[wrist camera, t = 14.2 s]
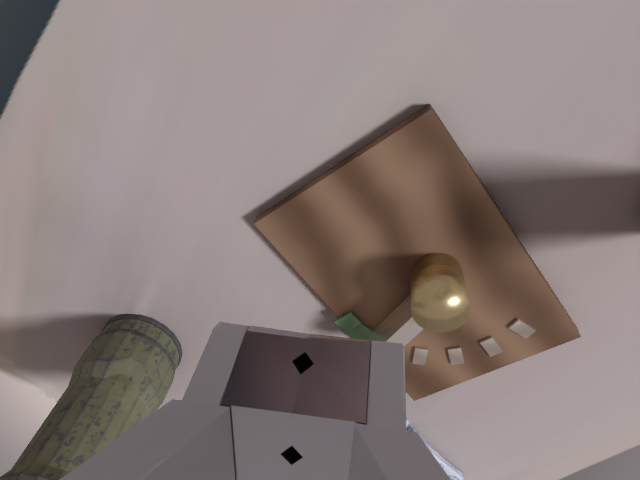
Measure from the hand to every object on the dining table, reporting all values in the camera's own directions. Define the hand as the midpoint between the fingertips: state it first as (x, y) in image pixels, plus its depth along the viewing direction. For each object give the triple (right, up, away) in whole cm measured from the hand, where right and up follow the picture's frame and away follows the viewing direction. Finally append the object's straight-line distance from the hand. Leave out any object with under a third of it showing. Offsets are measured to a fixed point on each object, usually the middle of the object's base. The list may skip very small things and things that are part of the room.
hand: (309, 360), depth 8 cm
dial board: (+9, -1, +37) cm, 38 cm away
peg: (+8, -3, +37) cm, 38 cm away
